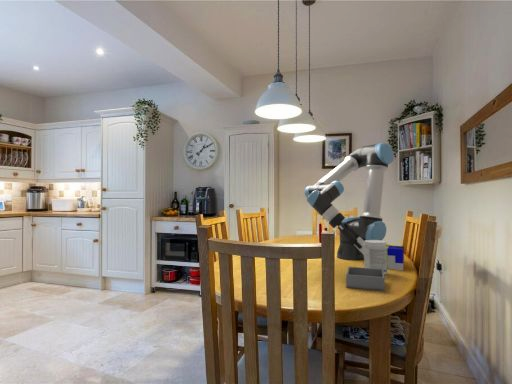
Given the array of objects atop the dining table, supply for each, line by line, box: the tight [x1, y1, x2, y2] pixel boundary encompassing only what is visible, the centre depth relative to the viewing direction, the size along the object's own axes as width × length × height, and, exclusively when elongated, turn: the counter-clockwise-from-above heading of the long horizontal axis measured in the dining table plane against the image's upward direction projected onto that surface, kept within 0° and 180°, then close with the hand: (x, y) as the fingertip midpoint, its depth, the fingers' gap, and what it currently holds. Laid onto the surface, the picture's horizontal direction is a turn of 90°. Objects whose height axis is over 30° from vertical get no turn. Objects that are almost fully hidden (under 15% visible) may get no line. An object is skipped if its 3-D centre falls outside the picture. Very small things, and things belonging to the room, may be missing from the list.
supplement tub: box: [363, 240, 388, 276], centre depth 138 cm, size 10×10×15 cm
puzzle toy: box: [386, 244, 405, 271], centre depth 150 cm, size 10×10×10 cm
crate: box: [345, 266, 386, 292], centre depth 120 cm, size 14×14×5 cm
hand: (367, 251), depth 138 cm, fingers open, 13 cm apart
